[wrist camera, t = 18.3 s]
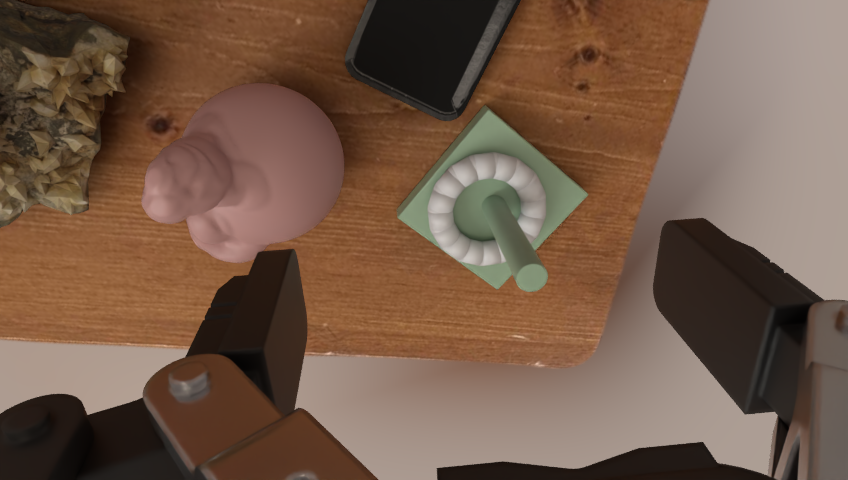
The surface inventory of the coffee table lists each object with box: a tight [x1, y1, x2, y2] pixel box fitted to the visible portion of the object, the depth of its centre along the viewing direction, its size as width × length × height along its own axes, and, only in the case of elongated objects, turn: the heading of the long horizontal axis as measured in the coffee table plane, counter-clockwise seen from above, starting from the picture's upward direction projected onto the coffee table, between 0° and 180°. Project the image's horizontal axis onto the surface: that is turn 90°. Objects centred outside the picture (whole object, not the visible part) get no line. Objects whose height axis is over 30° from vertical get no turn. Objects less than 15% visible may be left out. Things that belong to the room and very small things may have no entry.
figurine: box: [142, 83, 344, 263], centre depth 31 cm, size 9×11×12 cm
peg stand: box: [397, 105, 588, 292], centre depth 33 cm, size 9×9×12 cm
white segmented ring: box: [428, 152, 546, 266], centre depth 36 cm, size 8×8×2 cm
